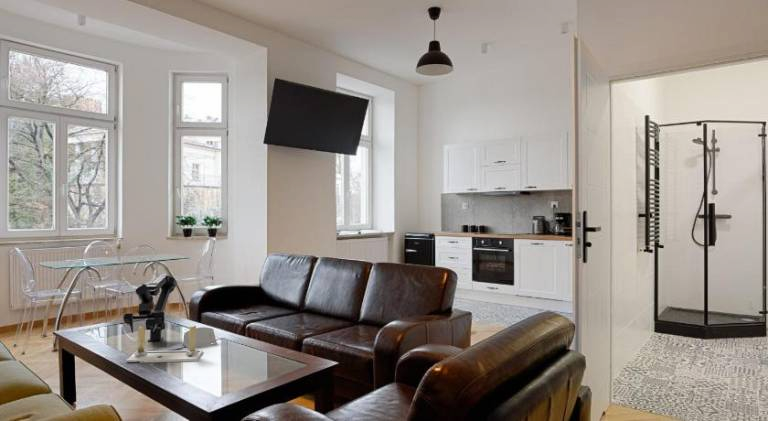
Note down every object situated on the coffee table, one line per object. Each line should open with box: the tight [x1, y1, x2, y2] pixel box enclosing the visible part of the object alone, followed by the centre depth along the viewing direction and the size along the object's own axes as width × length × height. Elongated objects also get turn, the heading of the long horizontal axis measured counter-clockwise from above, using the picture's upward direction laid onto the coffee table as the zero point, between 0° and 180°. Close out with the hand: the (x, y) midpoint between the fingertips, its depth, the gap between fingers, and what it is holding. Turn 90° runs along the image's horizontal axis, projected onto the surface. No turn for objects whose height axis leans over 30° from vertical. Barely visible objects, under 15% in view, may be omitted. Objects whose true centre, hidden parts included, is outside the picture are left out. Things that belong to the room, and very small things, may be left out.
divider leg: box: [133, 325, 148, 357], centre depth 227 cm, size 7×4×14 cm
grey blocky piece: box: [182, 326, 217, 349], centre depth 253 cm, size 17×5×10 cm, turn 128°
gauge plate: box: [126, 325, 204, 363], centre depth 230 cm, size 14×32×15 cm, turn 100°
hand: (142, 331), depth 232 cm, fingers open, 9 cm apart
